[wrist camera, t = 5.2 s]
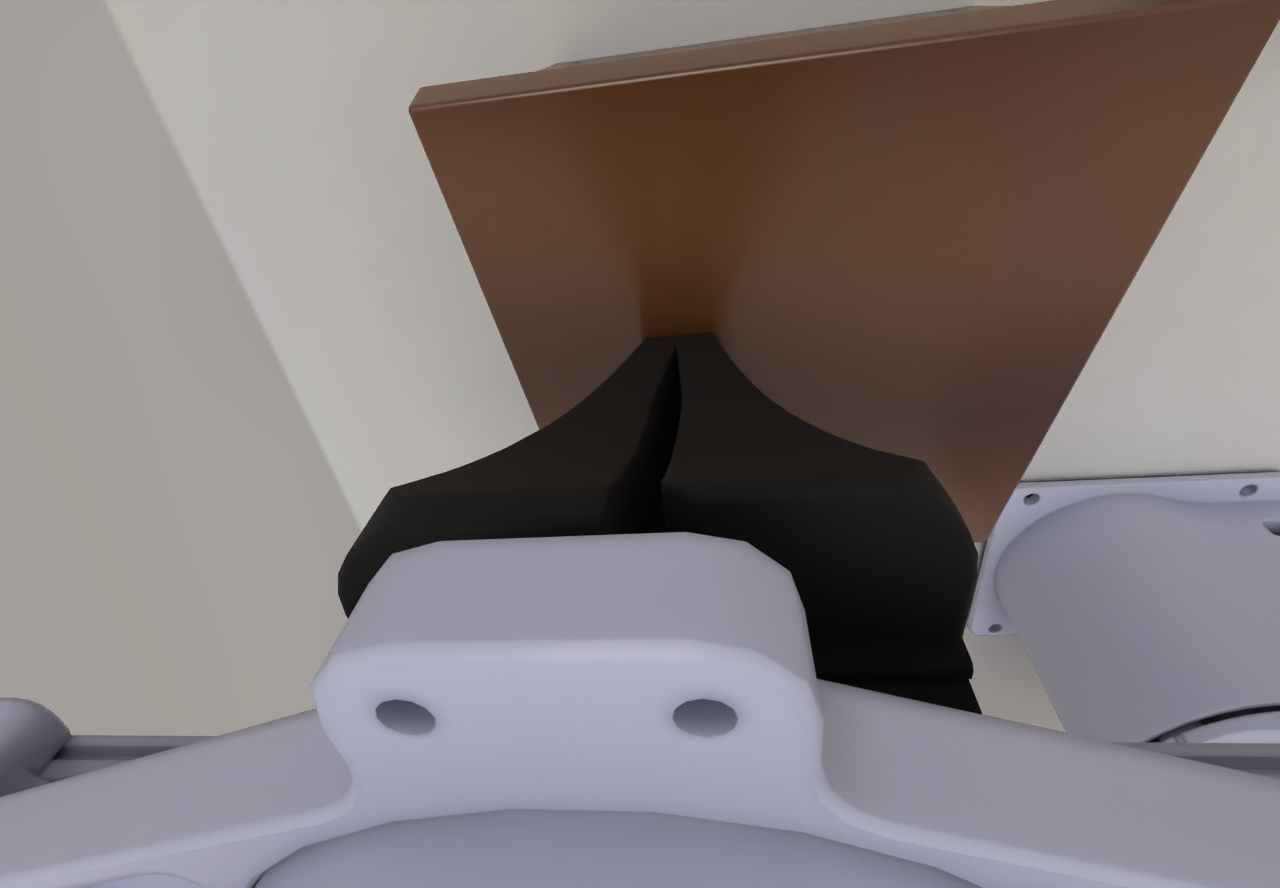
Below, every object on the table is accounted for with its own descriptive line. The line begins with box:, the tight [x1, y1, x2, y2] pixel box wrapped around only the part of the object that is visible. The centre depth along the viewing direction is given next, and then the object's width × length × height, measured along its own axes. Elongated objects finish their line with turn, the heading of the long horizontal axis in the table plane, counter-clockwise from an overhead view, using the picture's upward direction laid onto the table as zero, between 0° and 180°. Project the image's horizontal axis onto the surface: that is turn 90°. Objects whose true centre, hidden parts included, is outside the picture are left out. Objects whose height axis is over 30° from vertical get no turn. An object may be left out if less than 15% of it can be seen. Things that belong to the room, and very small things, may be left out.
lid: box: [409, 0, 1280, 542], centre depth 13 cm, size 12×11×1 cm
